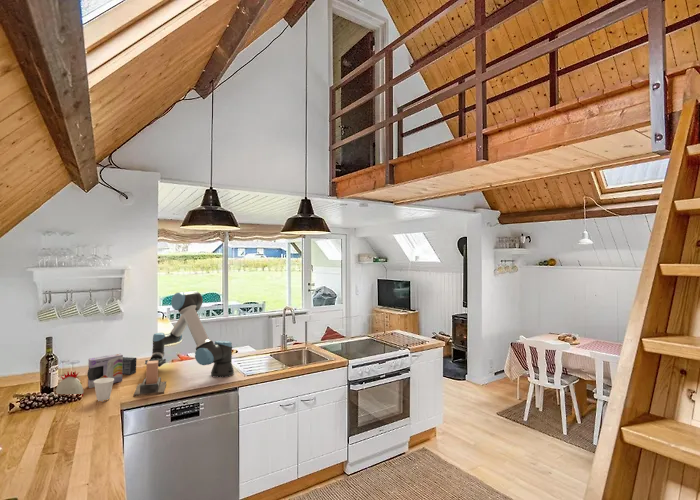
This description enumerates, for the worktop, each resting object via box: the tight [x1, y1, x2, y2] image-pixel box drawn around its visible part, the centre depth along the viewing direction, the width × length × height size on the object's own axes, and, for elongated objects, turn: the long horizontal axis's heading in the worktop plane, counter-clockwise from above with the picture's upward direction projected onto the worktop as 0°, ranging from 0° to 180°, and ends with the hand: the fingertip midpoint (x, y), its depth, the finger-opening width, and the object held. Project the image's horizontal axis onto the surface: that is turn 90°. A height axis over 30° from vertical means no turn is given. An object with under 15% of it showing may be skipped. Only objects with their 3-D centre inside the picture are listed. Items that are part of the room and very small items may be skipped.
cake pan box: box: [86, 353, 124, 389], centre depth 245 cm, size 19×5×18 cm, turn 137°
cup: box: [94, 378, 114, 402], centre depth 220 cm, size 10×10×11 cm
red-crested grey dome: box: [55, 370, 84, 397], centre depth 223 cm, size 14×14×15 cm
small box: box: [122, 356, 138, 376], centre depth 268 cm, size 11×6×10 cm, turn 84°
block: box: [145, 360, 159, 384], centre depth 244 cm, size 6×6×14 cm
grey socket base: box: [132, 376, 167, 398], centre depth 238 cm, size 16×20×6 cm
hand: (152, 368), depth 249 cm, fingers closed
